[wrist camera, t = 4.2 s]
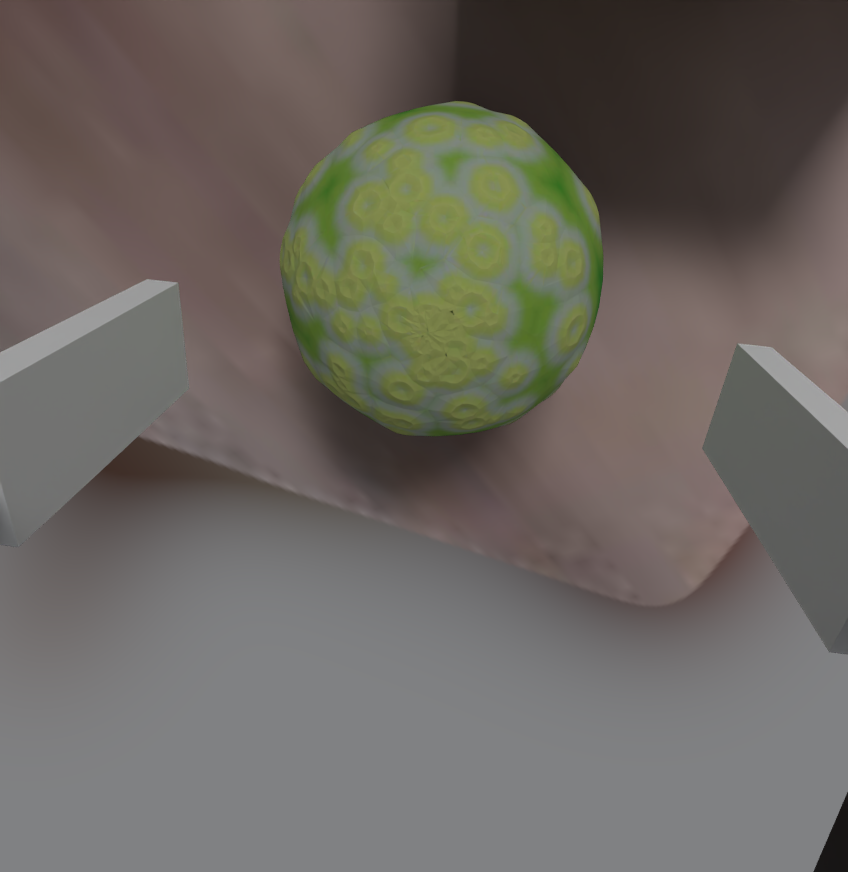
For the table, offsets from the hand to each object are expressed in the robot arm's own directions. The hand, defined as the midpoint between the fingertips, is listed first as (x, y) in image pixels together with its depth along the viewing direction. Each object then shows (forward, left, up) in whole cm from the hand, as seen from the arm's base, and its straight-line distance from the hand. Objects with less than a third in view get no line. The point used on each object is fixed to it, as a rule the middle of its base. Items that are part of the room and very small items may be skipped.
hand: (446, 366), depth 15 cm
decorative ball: (-1, +1, -11) cm, 11 cm away
